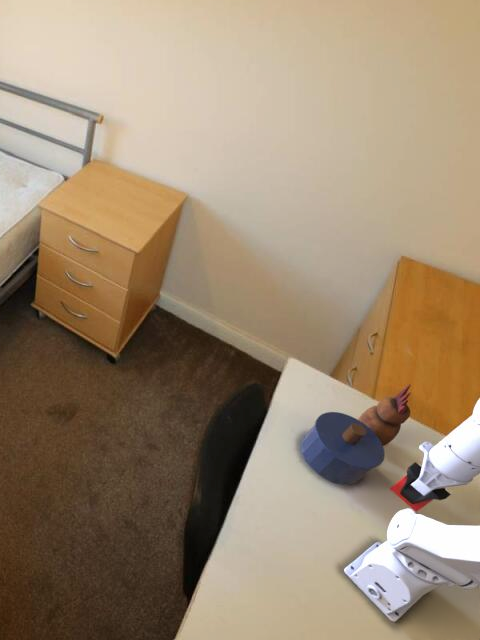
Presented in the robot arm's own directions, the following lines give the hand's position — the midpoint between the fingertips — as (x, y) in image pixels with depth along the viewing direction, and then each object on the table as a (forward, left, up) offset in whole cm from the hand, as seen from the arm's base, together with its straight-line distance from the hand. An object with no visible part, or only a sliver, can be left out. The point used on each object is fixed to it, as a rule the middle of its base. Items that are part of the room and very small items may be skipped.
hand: (415, 490), depth 87 cm
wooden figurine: (+8, +10, -6) cm, 15 cm away
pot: (-2, +11, -6) cm, 13 cm away
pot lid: (-2, +11, +1) cm, 11 cm away
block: (0, 0, -1) cm, 1 cm away
